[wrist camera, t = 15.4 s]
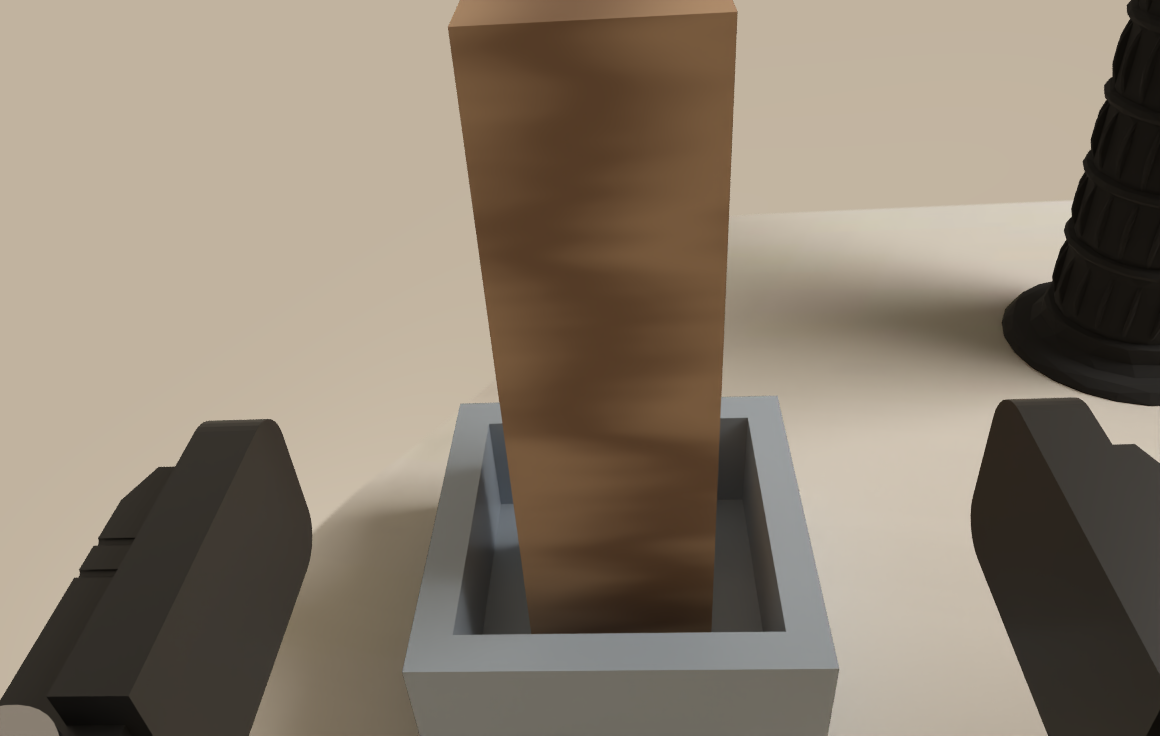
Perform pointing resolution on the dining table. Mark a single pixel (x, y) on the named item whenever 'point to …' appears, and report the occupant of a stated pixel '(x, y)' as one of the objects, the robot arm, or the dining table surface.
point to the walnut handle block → (605, 291)
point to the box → (624, 660)
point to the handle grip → (1108, 243)
